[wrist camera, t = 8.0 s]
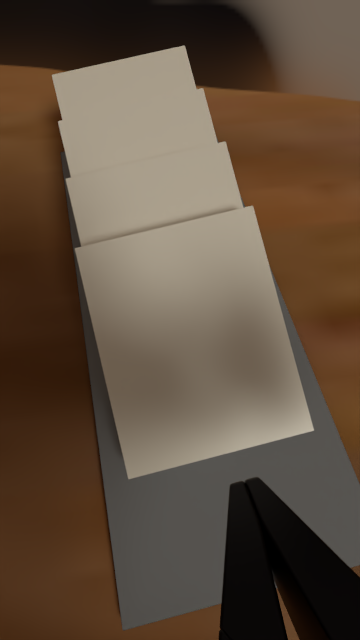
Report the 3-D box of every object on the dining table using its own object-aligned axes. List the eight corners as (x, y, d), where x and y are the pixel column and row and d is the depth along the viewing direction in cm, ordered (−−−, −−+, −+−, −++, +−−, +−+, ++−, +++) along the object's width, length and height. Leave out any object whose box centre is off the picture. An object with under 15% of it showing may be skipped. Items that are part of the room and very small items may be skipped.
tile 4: (227, 205, 22) (184, 45, 22) (90, 238, 21) (51, 75, 22) (223, 214, 23) (184, 65, 24) (96, 245, 23) (60, 93, 24)
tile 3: (250, 265, 20) (202, 88, 20) (100, 301, 19) (57, 121, 20) (244, 270, 21) (201, 106, 22) (106, 304, 21) (66, 137, 22)
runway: (382, 552, 16) (389, 556, 15) (125, 623, 15) (122, 630, 15) (208, 124, 28) (208, 118, 27) (63, 158, 27) (60, 152, 27)
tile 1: (314, 430, 16) (252, 205, 17) (128, 479, 16) (74, 248, 16) (301, 422, 17) (246, 217, 18) (132, 466, 17) (83, 256, 18)
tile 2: (279, 339, 18) (225, 141, 18) (112, 381, 17) (65, 178, 18) (270, 339, 19) (221, 157, 20) (118, 378, 19) (74, 191, 20)
